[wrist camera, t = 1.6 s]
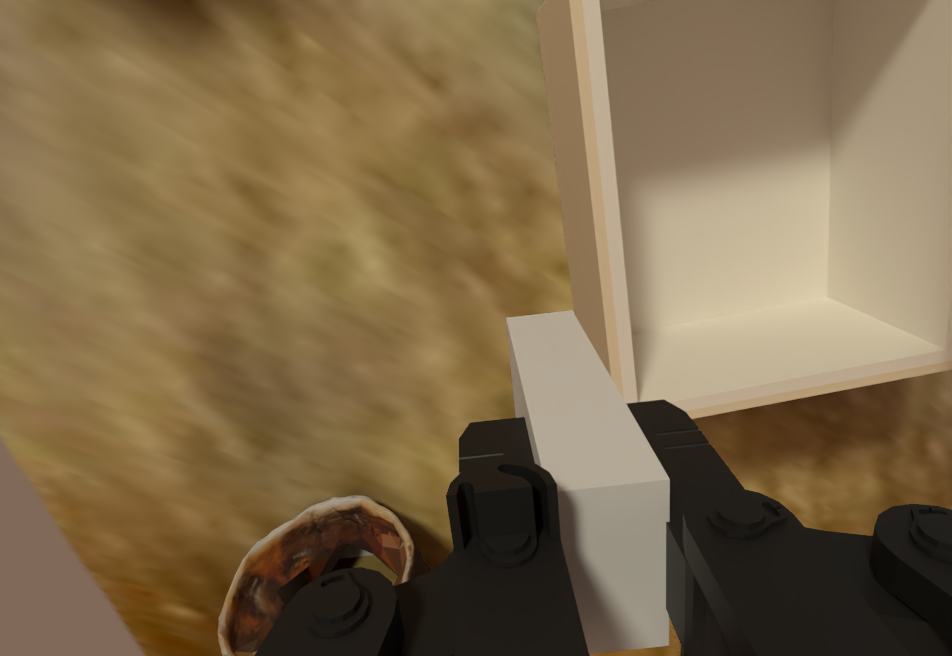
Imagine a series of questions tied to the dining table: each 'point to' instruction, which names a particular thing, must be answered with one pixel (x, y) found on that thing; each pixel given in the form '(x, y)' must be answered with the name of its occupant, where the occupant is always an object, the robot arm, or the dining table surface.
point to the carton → (754, 192)
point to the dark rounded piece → (309, 563)
